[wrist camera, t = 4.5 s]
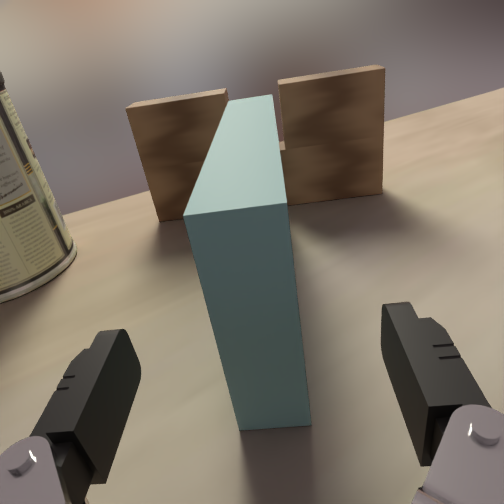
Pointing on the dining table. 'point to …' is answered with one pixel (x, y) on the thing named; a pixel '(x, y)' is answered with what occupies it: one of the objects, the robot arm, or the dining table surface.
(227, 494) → the dining table surface
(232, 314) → the cross plate
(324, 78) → the base plate
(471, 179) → the dining table surface
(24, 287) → the coffee can
